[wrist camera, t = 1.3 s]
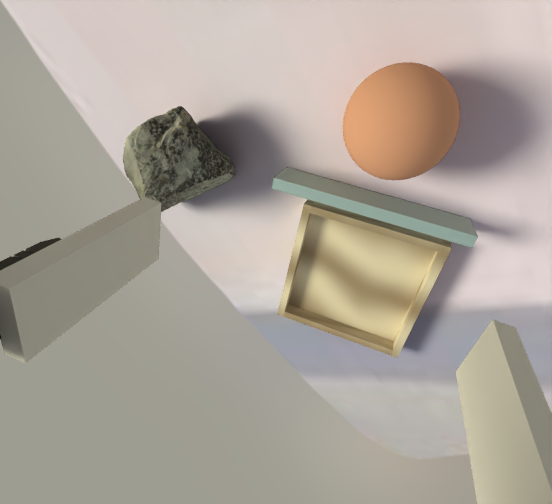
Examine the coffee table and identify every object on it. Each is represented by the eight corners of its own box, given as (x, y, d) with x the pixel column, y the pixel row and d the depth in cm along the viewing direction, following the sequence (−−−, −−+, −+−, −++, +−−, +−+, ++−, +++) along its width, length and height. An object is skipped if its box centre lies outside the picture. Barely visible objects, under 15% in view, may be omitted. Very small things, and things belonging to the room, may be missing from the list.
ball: (366, 53, 28) (354, 48, 22) (471, 75, 27) (493, 77, 20) (339, 153, 32) (321, 175, 26) (429, 177, 31) (435, 207, 24)
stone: (158, 242, 30) (121, 116, 26) (133, 214, 38) (101, 114, 34) (257, 211, 34) (240, 98, 30) (215, 192, 42) (197, 100, 38)
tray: (309, 197, 35) (304, 204, 33) (449, 238, 33) (451, 248, 31) (282, 304, 42) (277, 314, 40) (397, 345, 39) (397, 357, 37)
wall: (286, 167, 34) (273, 177, 31) (470, 218, 31) (477, 236, 28) (284, 177, 35) (271, 188, 31) (464, 228, 32) (472, 247, 28)
